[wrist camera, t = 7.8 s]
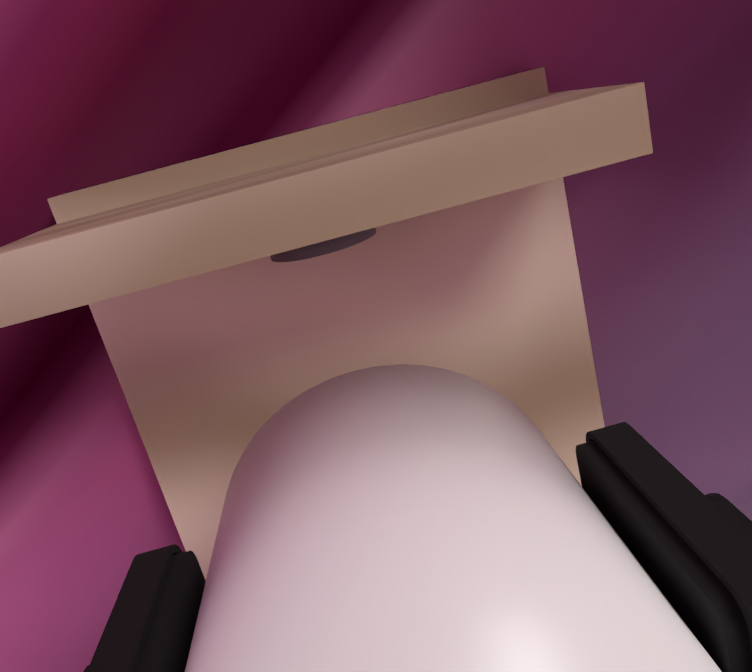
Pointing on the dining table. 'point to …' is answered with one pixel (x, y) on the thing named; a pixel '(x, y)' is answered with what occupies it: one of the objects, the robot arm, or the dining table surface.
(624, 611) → the white rounded cylinder
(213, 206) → the holder
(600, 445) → the robot arm
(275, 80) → the dining table surface
